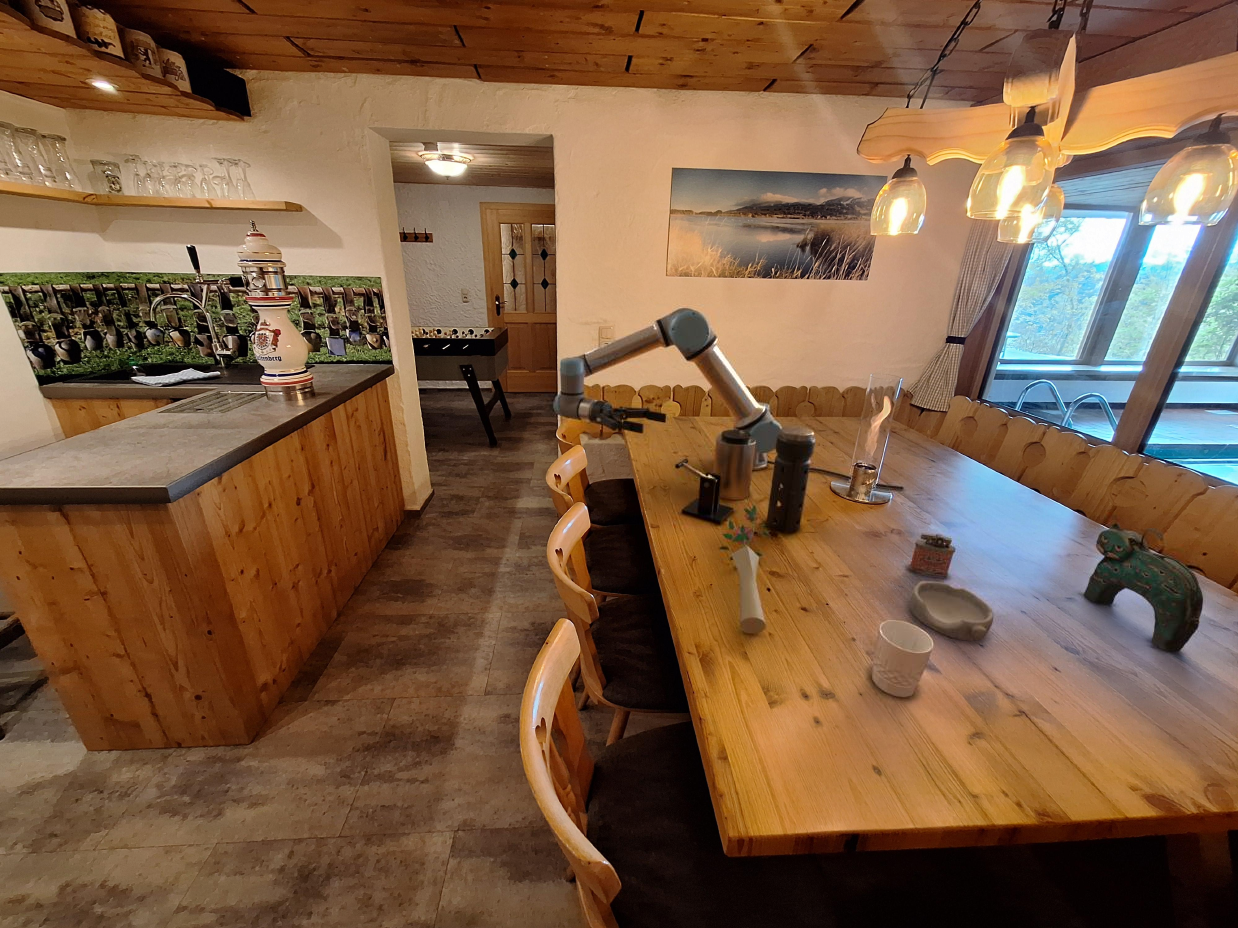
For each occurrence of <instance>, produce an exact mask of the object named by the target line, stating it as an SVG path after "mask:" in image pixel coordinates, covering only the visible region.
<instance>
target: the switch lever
mask: <svg viewBox="0 0 1238 928" xmlns="http://www.w3.org/2000/svg"><path fill="white" fill-rule="evenodd" d="M674 467H675V469H676V470H679V469H680V468H683V469H686V471H689V472H690V473H692V474H694V475H695V476H697V477H698V478H700V477H701V476H705V477H709V478H713V479H716V478H714V477H713V476H711V475H709V476H706V474H704V473H703V472H701V471H699V470H697V469H695V468H694V467H692V466H691V465H689V459H688V458H683V459H682V460H681V461H679V462H677V463H676V464H675V465H674ZM717 480H718V479H716V482H717Z"/></svg>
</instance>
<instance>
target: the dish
mask: <svg viewBox="0 0 1238 928" xmlns="http://www.w3.org/2000/svg"><path fill="white" fill-rule="evenodd" d="M909 602H910V603H909V606H910V610H911V612H912V614H913V615H914V616H915V617H916V618H917V620H919V621H920V622H921V623H922V624H924V625H925V626H927V627H929V628H931V629H933V630H934V631H937V632H938V633H940V634H942V635H945V636H948V637H951V638H953V639H957V640H962V641H978V640H981V639H982V638H985V636H986V635H987V634H988V633H989V631H990V630H991V628H992V626H993V623H994V618H995V617H994V616H995V615H994V611H993V608H992V607H991V606H990V605H989V604H988V603H987V602H986V601H984V600H983V599H982V598H980V597H979V596H977V595H976V594H975V593H973V592H971V591H970V590H968V589H966V588H962V587H961V588H960V587H955V586H952V585H950V584H949V583H946V582H940V581H925V580H920V581H918V582H917V583H916V584H915V586H914V588H913V589H912V592H911V595H910V601H909Z"/></svg>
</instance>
